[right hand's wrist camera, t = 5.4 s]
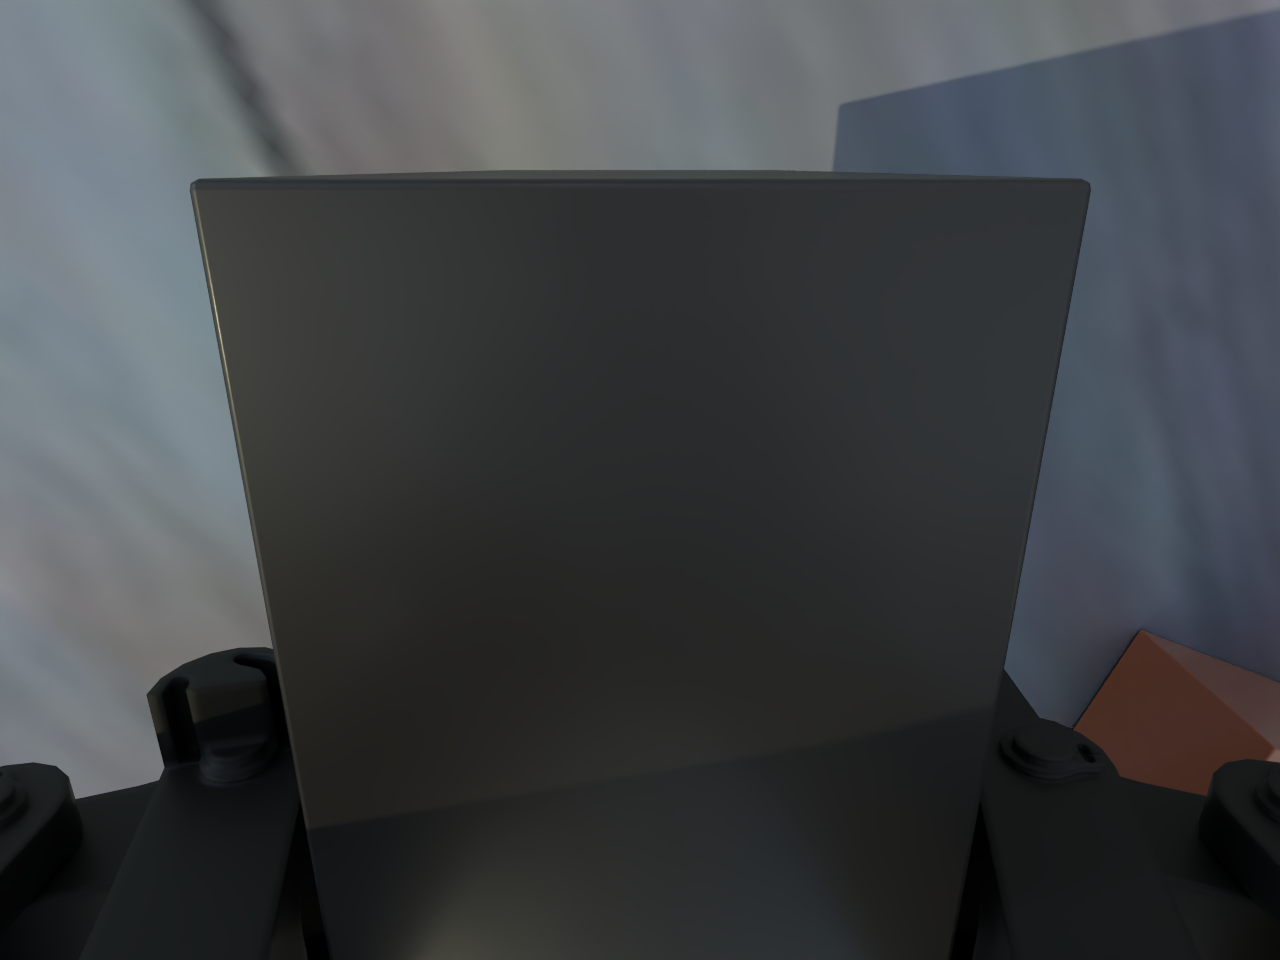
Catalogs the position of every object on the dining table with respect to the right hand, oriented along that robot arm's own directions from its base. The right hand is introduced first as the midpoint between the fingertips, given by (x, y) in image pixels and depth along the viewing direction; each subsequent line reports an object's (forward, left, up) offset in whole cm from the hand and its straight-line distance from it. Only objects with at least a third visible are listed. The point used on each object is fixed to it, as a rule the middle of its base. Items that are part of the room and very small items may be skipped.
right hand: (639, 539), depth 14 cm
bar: (+8, +7, -1) cm, 11 cm away
